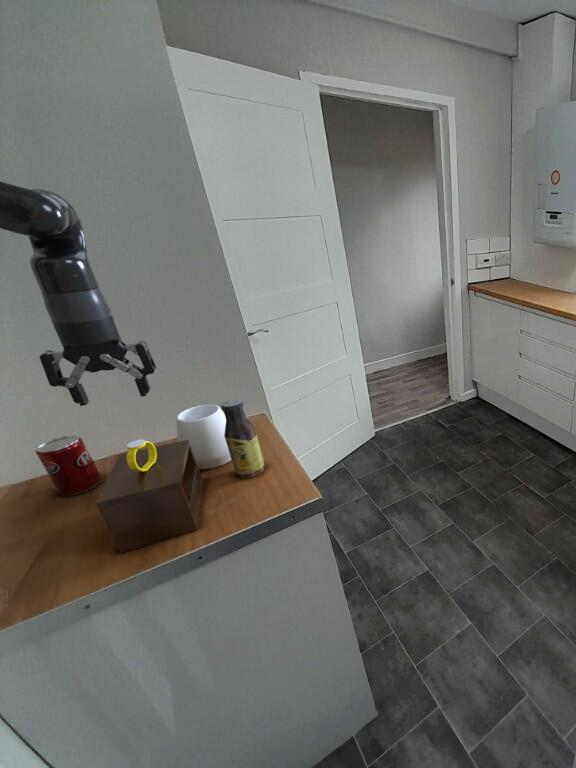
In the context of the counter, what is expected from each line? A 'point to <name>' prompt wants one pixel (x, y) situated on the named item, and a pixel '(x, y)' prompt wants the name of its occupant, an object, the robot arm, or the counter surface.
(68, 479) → the soda can
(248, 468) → the sauce bottle
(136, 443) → the watch
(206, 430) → the cup
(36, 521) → the counter surface
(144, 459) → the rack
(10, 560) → the counter surface
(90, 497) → the counter surface
